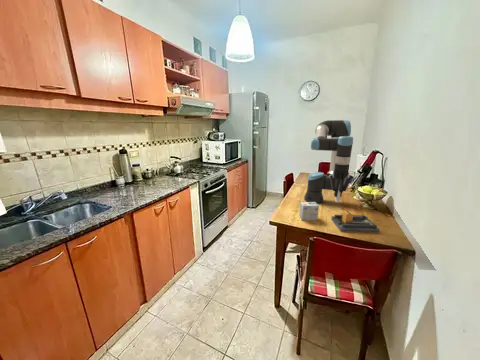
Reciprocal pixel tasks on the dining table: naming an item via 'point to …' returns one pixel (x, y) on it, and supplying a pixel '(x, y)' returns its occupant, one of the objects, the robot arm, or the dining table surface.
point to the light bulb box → (309, 210)
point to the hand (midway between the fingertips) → (336, 201)
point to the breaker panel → (356, 220)
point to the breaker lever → (347, 216)
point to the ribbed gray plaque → (357, 224)
